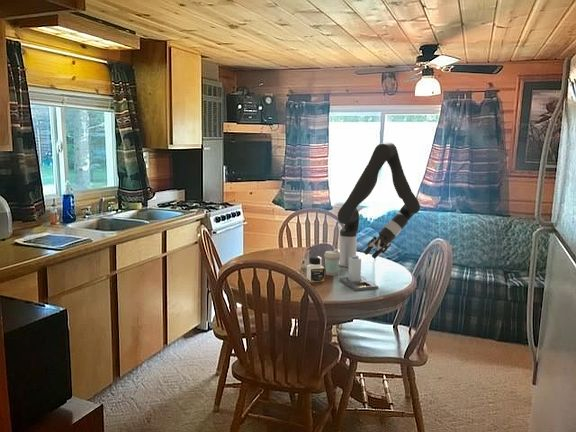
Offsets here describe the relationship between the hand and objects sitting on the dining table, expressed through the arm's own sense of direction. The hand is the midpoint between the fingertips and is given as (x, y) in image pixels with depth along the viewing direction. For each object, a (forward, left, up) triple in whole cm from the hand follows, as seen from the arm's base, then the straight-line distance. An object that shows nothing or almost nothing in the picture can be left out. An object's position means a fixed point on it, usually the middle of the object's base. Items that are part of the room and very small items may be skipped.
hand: (369, 255), depth 238 cm
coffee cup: (-17, -13, -13) cm, 25 cm away
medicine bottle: (-10, -25, -13) cm, 30 cm away
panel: (+4, -8, -13) cm, 16 cm away
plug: (0, -8, -13) cm, 15 cm away
